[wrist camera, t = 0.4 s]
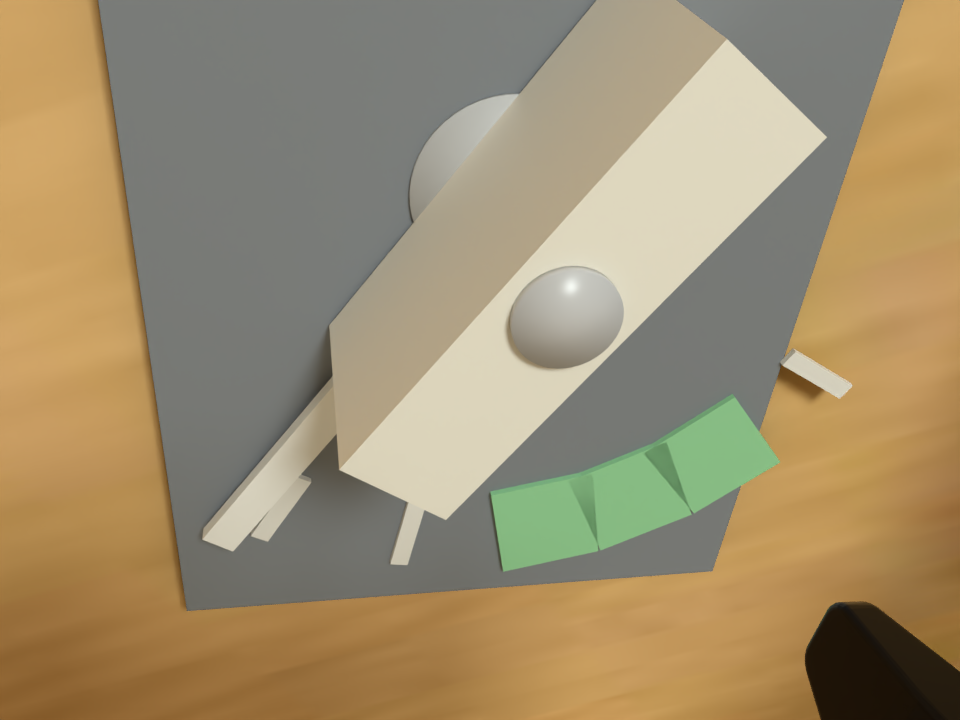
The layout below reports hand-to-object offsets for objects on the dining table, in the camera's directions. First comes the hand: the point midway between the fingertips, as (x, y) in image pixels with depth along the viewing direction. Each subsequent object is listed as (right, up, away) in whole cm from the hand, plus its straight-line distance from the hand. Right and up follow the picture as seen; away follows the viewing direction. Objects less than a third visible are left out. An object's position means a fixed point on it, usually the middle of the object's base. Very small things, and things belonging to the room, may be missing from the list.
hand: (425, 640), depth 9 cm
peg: (-1, +4, +12) cm, 13 cm away
